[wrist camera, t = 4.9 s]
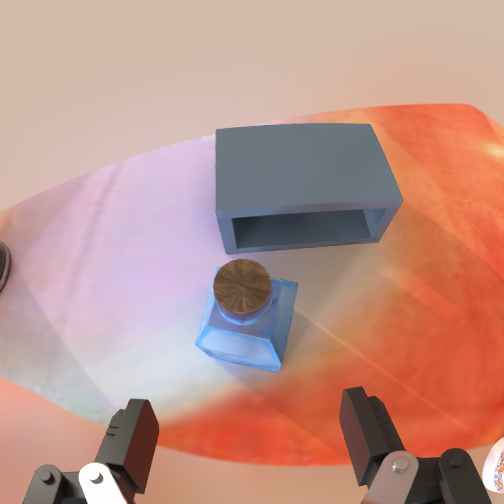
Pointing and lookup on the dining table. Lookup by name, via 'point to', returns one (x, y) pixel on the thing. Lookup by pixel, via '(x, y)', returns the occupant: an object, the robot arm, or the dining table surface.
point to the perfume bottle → (247, 316)
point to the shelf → (302, 186)
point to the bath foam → (495, 468)
